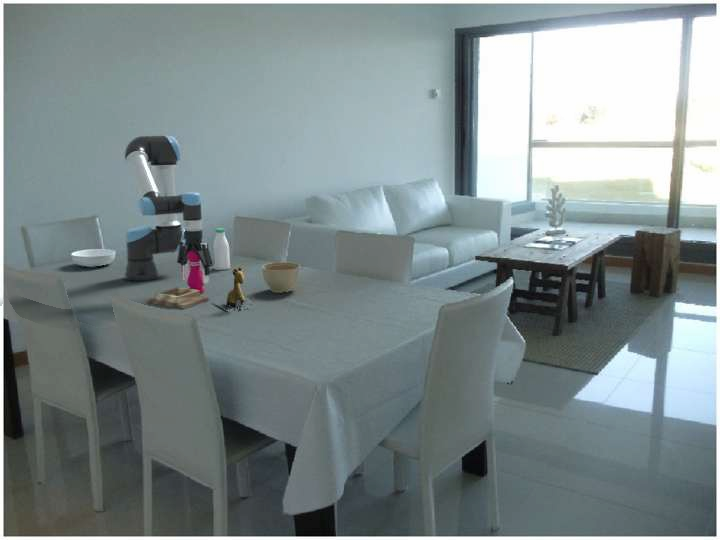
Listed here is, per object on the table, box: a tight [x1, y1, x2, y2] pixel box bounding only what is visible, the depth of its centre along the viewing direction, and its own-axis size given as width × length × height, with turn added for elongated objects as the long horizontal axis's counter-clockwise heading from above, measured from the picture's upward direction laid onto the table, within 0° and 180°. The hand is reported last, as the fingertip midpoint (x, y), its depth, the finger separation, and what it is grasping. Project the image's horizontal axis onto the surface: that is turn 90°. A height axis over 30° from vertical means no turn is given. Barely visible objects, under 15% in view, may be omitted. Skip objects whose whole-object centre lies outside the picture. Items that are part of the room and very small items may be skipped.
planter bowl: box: [261, 261, 301, 294], centre depth 290 cm, size 16×16×11 cm
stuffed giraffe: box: [213, 267, 249, 312], centre depth 268 cm, size 16×18×16 cm
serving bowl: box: [70, 248, 116, 268], centre depth 342 cm, size 21×21×7 cm
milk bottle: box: [212, 227, 231, 271], centre depth 332 cm, size 8×8×20 cm
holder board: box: [146, 286, 210, 310], centre depth 273 cm, size 20×14×4 cm
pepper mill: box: [186, 251, 205, 294], centre depth 286 cm, size 7×7×20 cm
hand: (195, 281), depth 287 cm, fingers open, 10 cm apart
